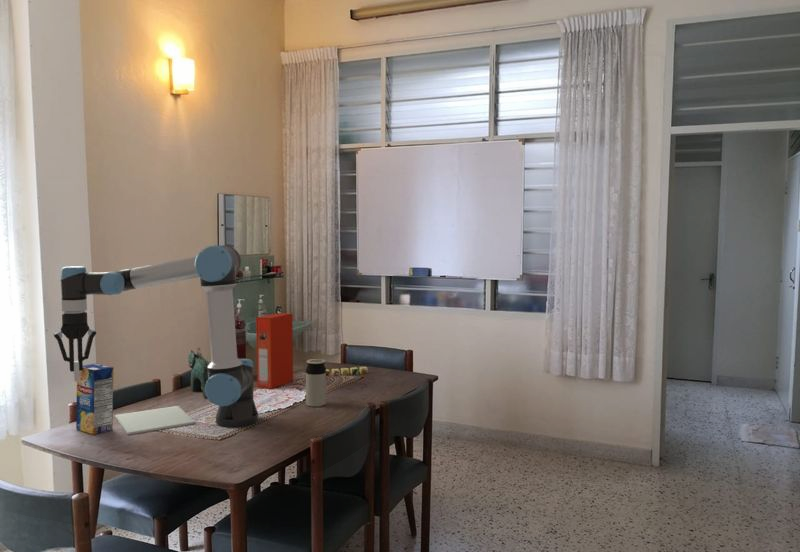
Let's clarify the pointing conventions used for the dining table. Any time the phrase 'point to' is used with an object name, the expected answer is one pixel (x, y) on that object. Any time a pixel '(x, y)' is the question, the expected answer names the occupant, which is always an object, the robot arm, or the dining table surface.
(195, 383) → the green animal figurine
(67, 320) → the robot arm
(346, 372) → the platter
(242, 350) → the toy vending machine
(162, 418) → the board
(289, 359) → the file binder
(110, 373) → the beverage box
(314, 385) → the travel mug
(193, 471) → the dining table surface
